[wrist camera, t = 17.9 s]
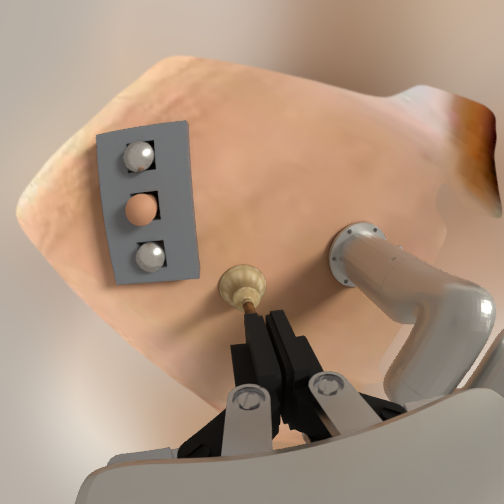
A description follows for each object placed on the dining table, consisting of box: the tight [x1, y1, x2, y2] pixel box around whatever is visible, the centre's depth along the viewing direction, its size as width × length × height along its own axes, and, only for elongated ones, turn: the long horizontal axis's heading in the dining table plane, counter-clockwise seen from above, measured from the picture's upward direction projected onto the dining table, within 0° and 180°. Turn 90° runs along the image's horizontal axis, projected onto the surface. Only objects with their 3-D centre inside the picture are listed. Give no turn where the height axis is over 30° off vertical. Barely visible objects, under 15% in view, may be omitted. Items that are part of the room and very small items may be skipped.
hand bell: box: [219, 265, 266, 325], centre depth 42 cm, size 8×8×16 cm
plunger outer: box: [123, 141, 155, 172], centre depth 38 cm, size 4×4×5 cm
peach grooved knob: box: [125, 193, 159, 226], centre depth 39 cm, size 4×4×5 cm
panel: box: [96, 120, 200, 285], centre depth 41 cm, size 14×24×4 cm, turn 3°
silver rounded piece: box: [136, 240, 165, 272], centre depth 43 cm, size 4×4×5 cm
